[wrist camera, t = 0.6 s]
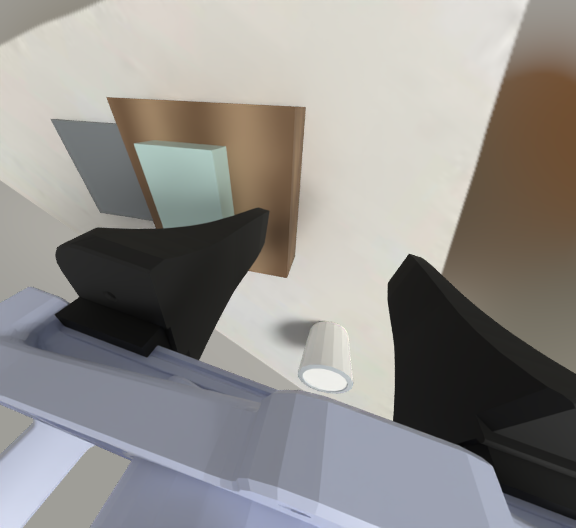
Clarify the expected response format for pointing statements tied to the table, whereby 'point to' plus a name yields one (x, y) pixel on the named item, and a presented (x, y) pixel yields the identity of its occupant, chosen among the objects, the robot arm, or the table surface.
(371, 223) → the table surface
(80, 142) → the mat
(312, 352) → the white short cylinder
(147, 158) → the mint green flat block
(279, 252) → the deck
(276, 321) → the table surface
